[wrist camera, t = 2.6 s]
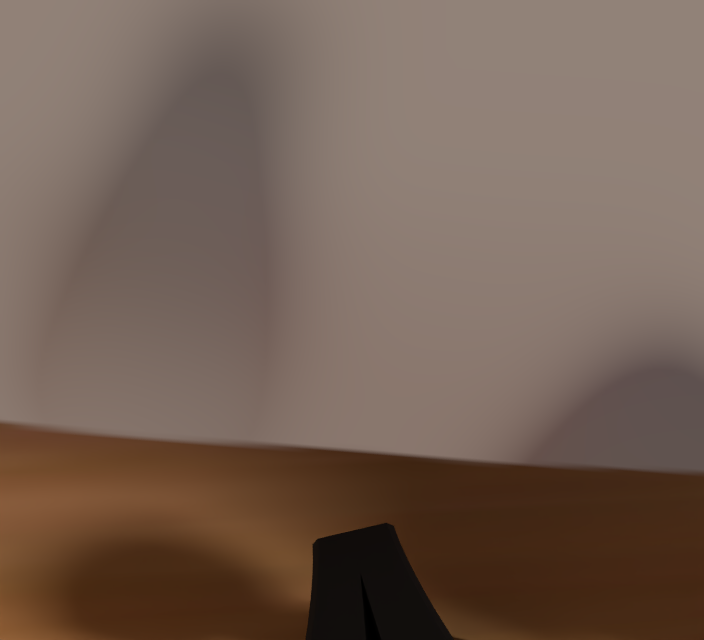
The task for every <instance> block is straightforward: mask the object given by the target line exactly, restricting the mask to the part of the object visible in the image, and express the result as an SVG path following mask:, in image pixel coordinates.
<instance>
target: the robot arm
mask: <svg viewBox="0 0 704 640" xmlns="http://www.w3.org/2000/svg"><path fill="white" fill-rule="evenodd" d="M306 640H454V639H453V638H452V636H451V634H450V633H449V631H448V630H447V628H446V626H445V625H444V623H443V622H442V620H441V619H440V617H439V615H438V614H437V612H436V611H435V609H434V607H433V605H432V604H431V602H430V600H429V599H428V597H427V595H426V593H425V592H424V590H423V588H422V586H421V584H420V582H419V581H418V579H417V577H416V575H415V573H414V571H413V569H412V567H411V565H410V563H409V561H408V559H407V557H406V555H405V553H404V551H403V549H402V546H401V544H400V542H399V539H398V537H397V534H396V531H395V528H394V526H393V525H391V524H388V523H384V524H380V525H375V526H371V527H367V528H362V529H358V530H354V531H349V532H345V533H341V534H337V535H332V536H328V537H324V538H319V539H317V540H316V541H315V543H314V544H313V576H312V591H311V601H310V610H309V619H308V627H307V633H306Z"/></svg>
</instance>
